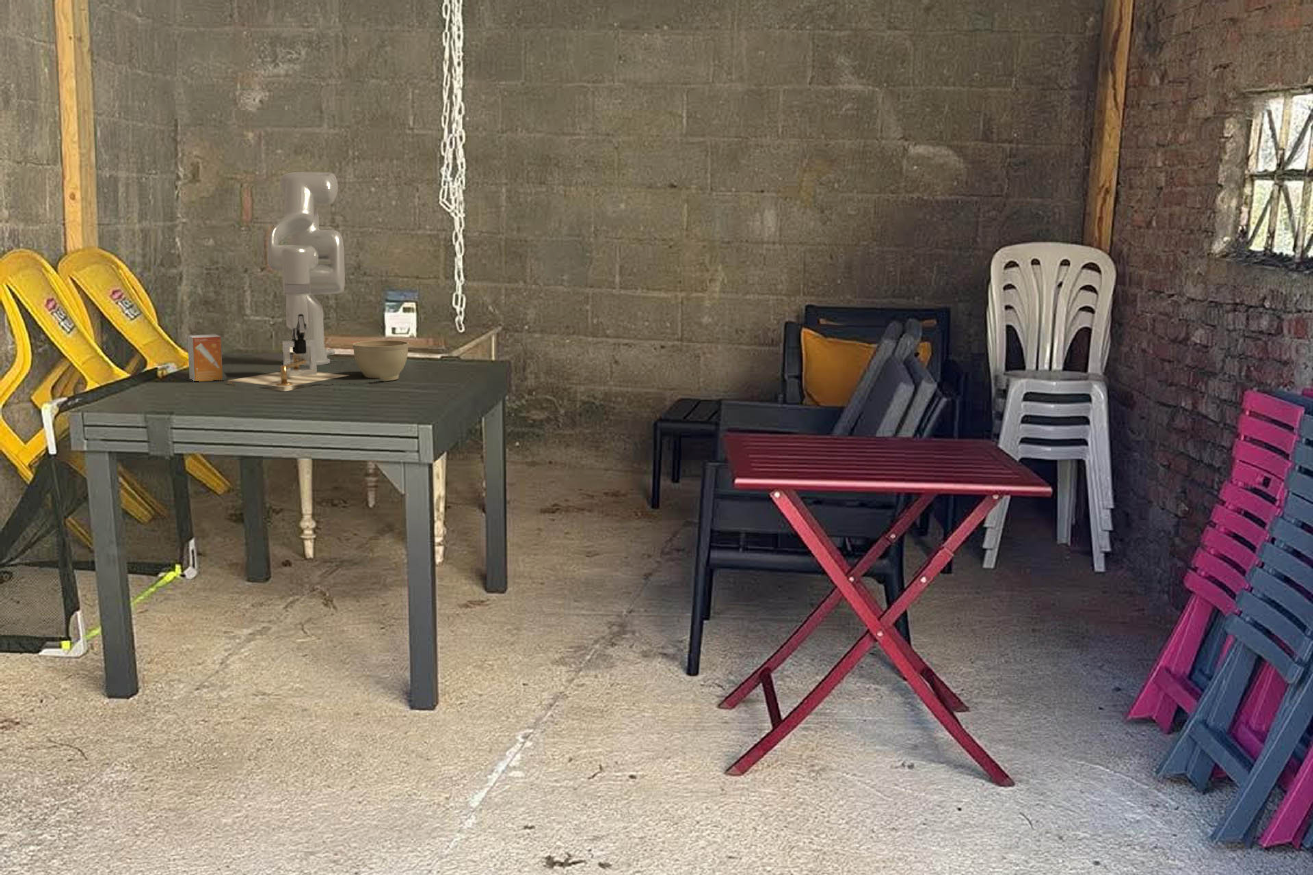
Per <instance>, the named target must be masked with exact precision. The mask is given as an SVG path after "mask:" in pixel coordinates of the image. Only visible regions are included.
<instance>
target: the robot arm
mask: <svg viewBox="0 0 1313 875" xmlns="http://www.w3.org/2000/svg"><path fill="white" fill-rule="evenodd" d="M279 184H280V190H281V194H282V197H283V200H284V217H282V218H281V219H280V220H278V221H277V223H276V224H275V225H274V226H273V227H272V229H271V230H270V232H269V235H268V237H267V238H268V239H267V250H266V251H267V257H266V258H267V264H268V266H269V268H270V269H272V270H273V271H277V272H279V271H280V272H282V289H283V292H282V293H283V296H286V299H285V300H286V302H285V304H286V305H285V306H286V307H285V315H286V316H285V319H286V320H285V322H286V324H285V325H286V327H287V328H288V329H290V330H291V333H292V335H291V337H292V340H291V341H294V344H295V347H292V352H293V354H299V356H301V357H302V358H304V359H305V360H306V364H302V365H301V366H310V361H309V346H306V340H315V341H316V362H317V366H321V365H322V366H323V365H327V364H330V362H331V359H330V358H328V357H329V356H333V355H335V353H336V351H335V349H334V348H329V349H328V348H327V347H325V330H324V329H325V328H324V309H323V306H322V303H320V302H319V300H318V299H317V298H316V296H315V295H336V294H337V295H338V294H341V293H342V292H343V291H344V289H345V285H346V274H345V271H346V269H345V248H344V239H343V236H342V234H341V232H339V231H338V230H334V229H320V219H319V218H320V216H319V213H318V211H317V210H316V208H315V205H318V204H319V205H330V204H331V205H332V204H333V203H334V202H335V200H336V198H337V195H338V190H339V185H338V184H339V183H338V179H337V176H336V174H334V172H333V173H332V172H326V171H321V172H320V171H319V172H318V171H313V172H312V171H294V172H293V171H292V172H287V173H284V174H283V175H282V176H281V177H280V181H279ZM290 236H291V244H280V243H281V242H282V241H283V240H285V239H286V238H288V237H290ZM319 261H327V262H329V263H319ZM290 363H293V358H290Z"/></svg>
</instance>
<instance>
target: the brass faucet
mask: <svg viewBox="0 0 1313 875" xmlns="http://www.w3.org/2000/svg"><path fill="white" fill-rule="evenodd" d="M292 359H293V363H290V364H286V365H284V364H283V365H280V366H279V367H280V372H281V382H279V383H276V385H278V386H277V387H279V386H288V385H292V382H287V369H288V368H291V369H300V366H302V364H306V360H305V359H304V358H302V357H301V356H299V354H294V353H293V354H292Z"/></svg>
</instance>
